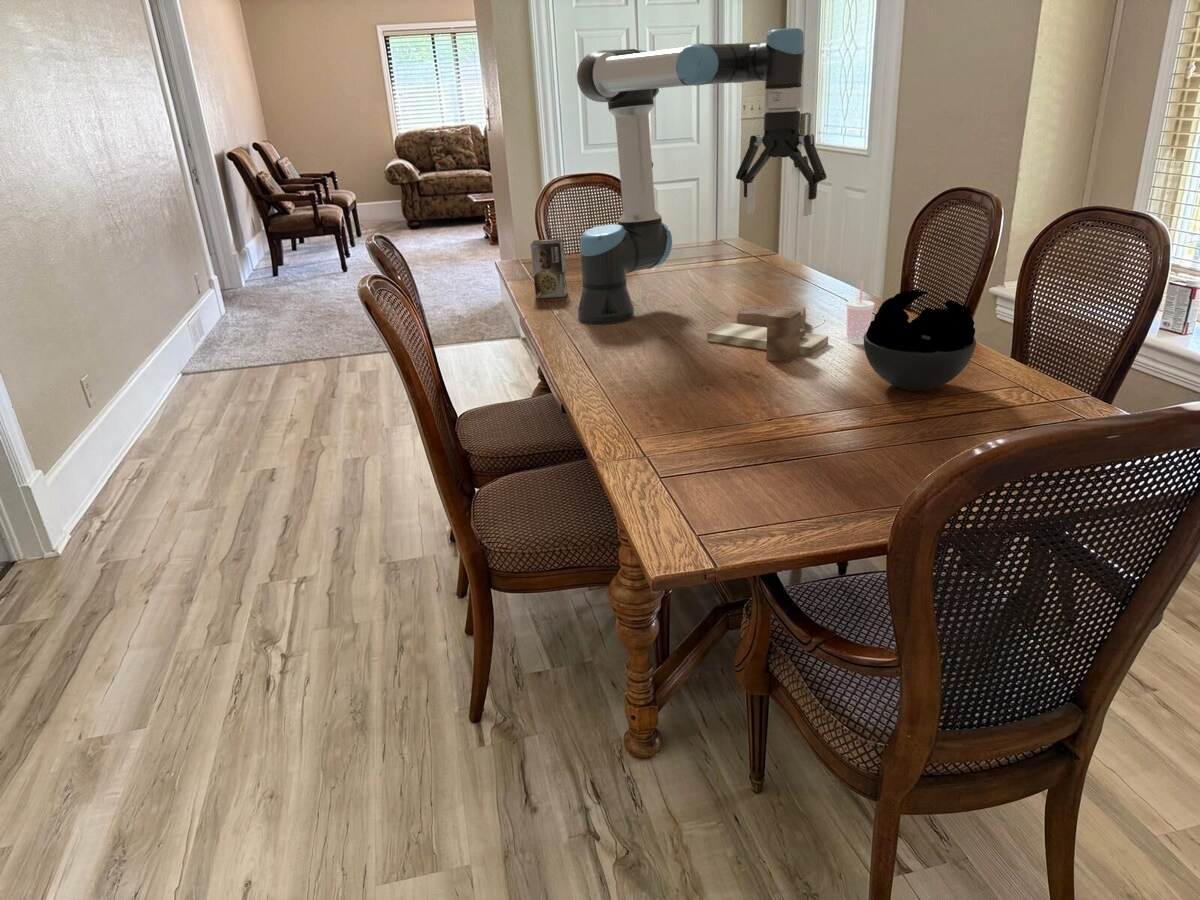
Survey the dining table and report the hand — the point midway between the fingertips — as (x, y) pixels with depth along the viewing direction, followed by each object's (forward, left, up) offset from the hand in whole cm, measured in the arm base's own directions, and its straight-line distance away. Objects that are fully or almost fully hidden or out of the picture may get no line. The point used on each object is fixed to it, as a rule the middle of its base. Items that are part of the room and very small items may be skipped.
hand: (778, 213), depth 179 cm
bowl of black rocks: (+38, -18, -29) cm, 51 cm away
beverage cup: (+18, +6, -29) cm, 35 cm away
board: (0, -4, -29) cm, 29 cm away
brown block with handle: (+8, -9, -29) cm, 31 cm away
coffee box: (-78, +11, -29) cm, 84 cm away
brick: (-5, +10, -29) cm, 31 cm away
